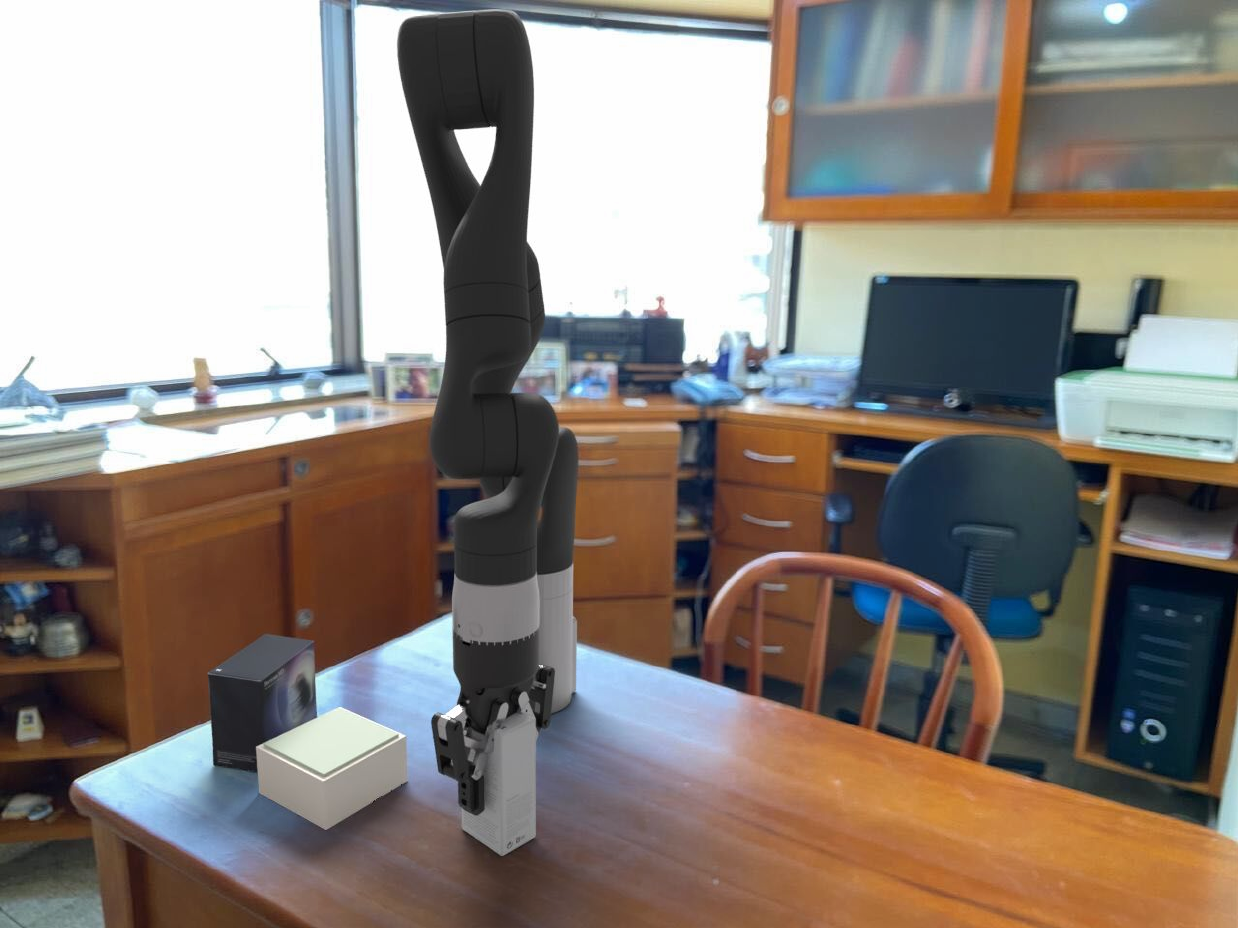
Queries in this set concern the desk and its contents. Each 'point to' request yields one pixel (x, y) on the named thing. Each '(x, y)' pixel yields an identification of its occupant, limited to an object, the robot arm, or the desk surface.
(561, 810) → the desk surface
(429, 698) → the desk surface
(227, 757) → the small box
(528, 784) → the skincare box
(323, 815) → the cream rectangular block
